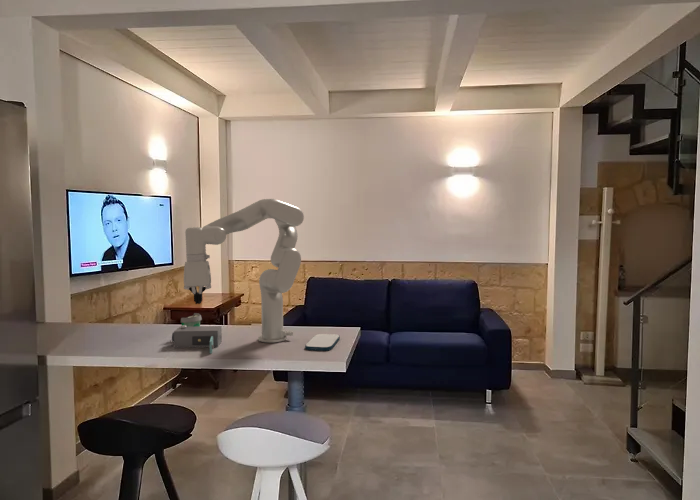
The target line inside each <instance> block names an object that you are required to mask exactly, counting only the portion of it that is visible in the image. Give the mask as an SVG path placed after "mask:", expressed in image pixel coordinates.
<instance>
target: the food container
mask: <svg viewBox="0 0 700 500" xmlns="http://www.w3.org/2000/svg"><path fill="white" fill-rule="evenodd" d="M202 320H203V318H202V315H201V314H200V313H197V312H194V313H193V315H189V316H187V317H181V318H180V323H181V326H182V325H186V326H187V327H196V326H201V321H202Z"/></svg>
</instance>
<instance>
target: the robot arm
mask: <svg viewBox="0 0 700 500" xmlns="http://www.w3.org/2000/svg"><path fill="white" fill-rule="evenodd" d="M268 219H273V220H274V222H275V223H276V226H277V228H278V237H277V240H276V243H275V245H274V248H273V251H272V253H271V255H270V263H271V264H272V266H273V267H276V268H277V269H274V268H273V269H272V268H270V269H269V268H268V269H266V270H264V271H263V272H262V273H260V276H259V280H258V282H259V289H260V296H261V305H260V306H261V335H259V336H258V339H257V340H258V341H259V342H262V343H268V344H269V343H270V344H271V343H280V342H284V341H287V336H290V337H291V336H293V337H294V331H293V330H292V331H291V330H285V328H284V299H283V294H284V293H287V292H289V291H290V290H291V288H292V287H293V285H294V282H295V281H296V277H297V275H298V272H299V269H300V267H301V264H302V256H301V253H300V251H299V250H297V249H296V245H297V242H298V231H297V227H298V226H301V224H303V221H304V219H305V215H304V212H303V211H302V210H301V208H299V207H297V206H296V205H295V206H294V205H292V204H289V203H287V202H285V201H284V202H283V201H281V200H279V199H276V198H262V199H259V200H258V201H255V202H253V203H251V204H248V206H246V207H244V208H242V209H240V210H238V211H235V212H233V213H230V214H228V215H226V216H223V217H221V218H218V219H216V220H214V221H212V222H210V223H208V224H206V225H204V226H203V227H201V226H200V227H198V226H197V227H195V226H194V227H187V228H186V229H185V232H184V233H185V253H186V261H184V266H183V267H184V269H183V284H184V285H183V289H184V290H186V291H190V292H191V293H192V295H193V302H194V303H195V305H200V304H202V302H203V293H204V292H205V291H206V290H210V289H211V288H212V276H211V275H212V273H211V268H210V261H208V259H210V258H211V257H210V254H207V252H206V251H207V250H206V249H207V247H206V245H213V246H218V245H221V244H223V243H224V242H225V241H226V240H227V235H228V234H229V235H230V234H232V233H238V232H243V231H246V230H248V229H250V228H252V227H254V226H256V225H257V224H259V223H261V222H263V221H265V220H268ZM197 288H198V289H197Z"/></svg>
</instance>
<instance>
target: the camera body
mask: <svg viewBox="0 0 700 500" xmlns="http://www.w3.org/2000/svg"><path fill="white" fill-rule="evenodd" d="M222 330H223V329H222V325H217V326H215V325H213V326H211V325H207V326H206V325H202V326H201V325H200V326H196V327H187V326H186V325H182V324H181V325H180V326H179V327H177V328H176V329H175V330H174V331H173V332H172V335H171V341H172V342H173V346H174V347H173V348H175V349H181V348H184V347H192V348H210V339H211V336H214V348H219V346H220V345H221V344H222V342H223V341H222V334H223V333H222Z"/></svg>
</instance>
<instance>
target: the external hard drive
mask: <svg viewBox="0 0 700 500" xmlns="http://www.w3.org/2000/svg"><path fill="white" fill-rule="evenodd" d="M340 339H341V338H340V335H339V334H336V333H335V334H334V333H332V334H331V333H318V334H315V335H314V336H313V337H311V339H310V340H308V341H307V343H305V347H304V349H305V350H307V351H315V352H316V351H318V352H328V351H331V350H333V349H334V348H335V346H336V345H337V343H338V342H339V341H340Z"/></svg>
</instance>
